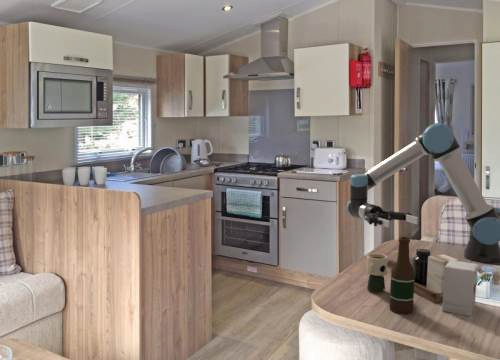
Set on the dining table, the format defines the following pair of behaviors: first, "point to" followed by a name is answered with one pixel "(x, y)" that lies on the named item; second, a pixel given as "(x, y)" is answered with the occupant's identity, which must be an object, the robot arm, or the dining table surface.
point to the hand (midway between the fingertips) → (403, 222)
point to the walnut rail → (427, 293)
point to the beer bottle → (402, 280)
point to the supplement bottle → (421, 266)
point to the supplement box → (459, 287)
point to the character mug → (376, 271)
